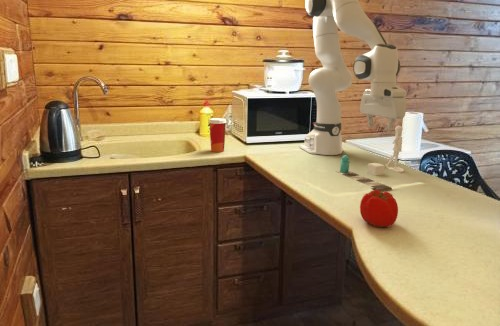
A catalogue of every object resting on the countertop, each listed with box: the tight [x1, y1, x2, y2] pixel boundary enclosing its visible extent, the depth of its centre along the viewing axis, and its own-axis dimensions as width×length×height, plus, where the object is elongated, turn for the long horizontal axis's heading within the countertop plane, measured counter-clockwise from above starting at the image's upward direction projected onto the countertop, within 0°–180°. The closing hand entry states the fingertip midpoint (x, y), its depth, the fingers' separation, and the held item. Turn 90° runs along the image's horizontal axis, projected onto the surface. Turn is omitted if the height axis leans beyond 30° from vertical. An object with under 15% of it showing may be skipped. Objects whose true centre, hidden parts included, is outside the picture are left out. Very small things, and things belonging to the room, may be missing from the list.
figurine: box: [385, 125, 405, 174], centre depth 161 cm, size 8×8×18 cm
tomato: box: [359, 190, 399, 228], centre depth 109 cm, size 11×11×9 cm
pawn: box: [339, 154, 350, 174], centre depth 156 cm, size 3×3×7 cm
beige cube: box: [366, 162, 386, 176], centre depth 156 cm, size 4×4×4 cm
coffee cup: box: [208, 117, 227, 153], centre depth 190 cm, size 8×8×15 cm
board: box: [335, 170, 393, 192], centre depth 148 cm, size 24×6×1 cm, turn 25°
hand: (379, 128), depth 151 cm, fingers open, 8 cm apart
